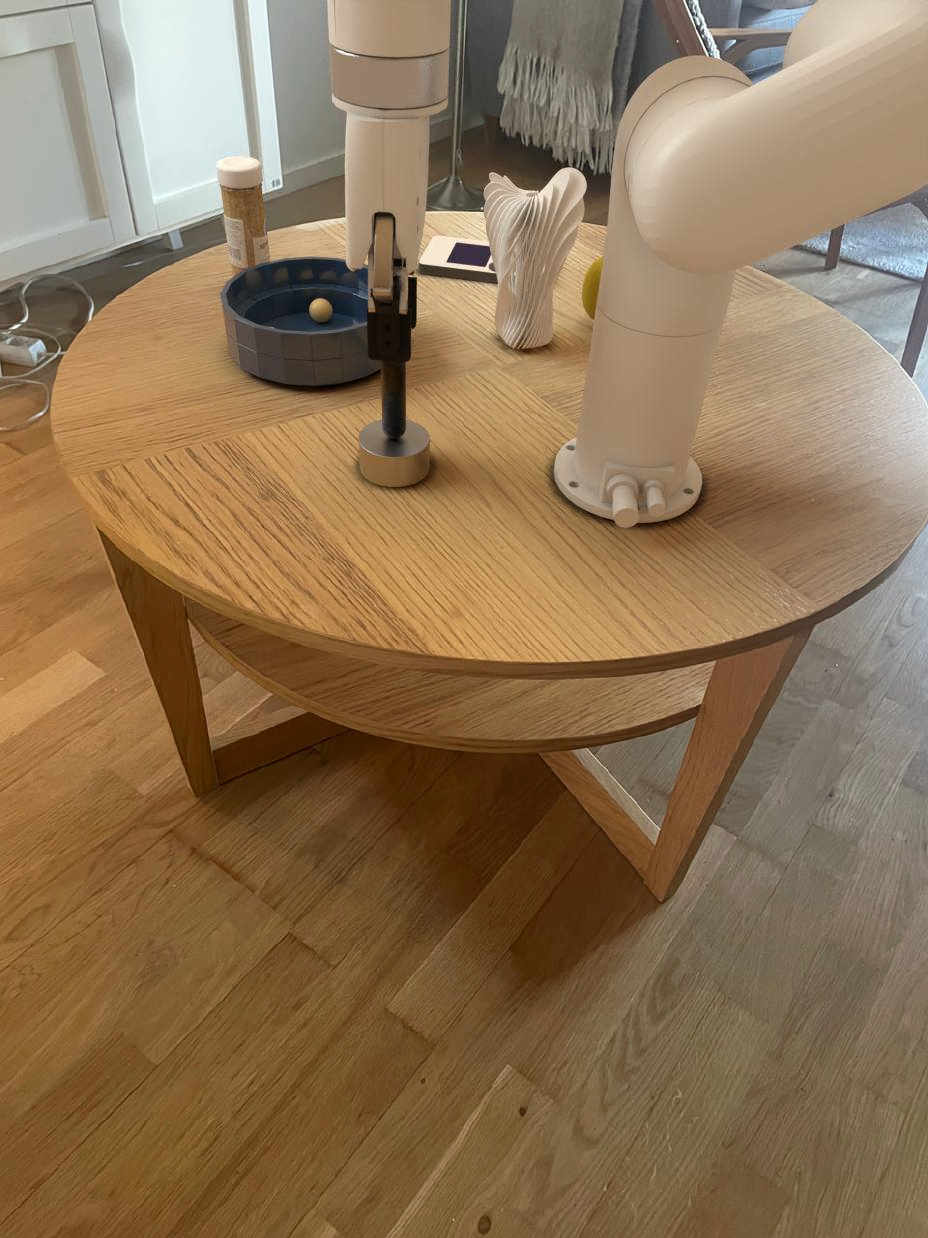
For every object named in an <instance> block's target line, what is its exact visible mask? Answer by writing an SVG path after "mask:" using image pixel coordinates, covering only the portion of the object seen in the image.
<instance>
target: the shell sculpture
mask: <svg viewBox="0 0 928 1238" xmlns="http://www.w3.org/2000/svg"><path fill="white" fill-rule="evenodd" d="M488 178H489V181H490V182H489V183H488V184H487V185H485V187H484V189H483V198H484V201H485V203H484V205H483V216H484V219H485V231H486V232H485V233H486V237H487V241H488V242H489V246H490V252H491V256H492V260H493V263H494V267H495V271H496V275H497V280H498V283H497V292H496V302H495V311H494V326H495V331H496V332H497V334H498V335H499V337H500V338H501V339H502V340H503V342H504V343H505V344H506V345H507V346H508V347H509V348H512V349H513V350H514V349H516V348H517V350H519V349H520V347H521V349H522V350H523V349H526V350H527V349H532V348H533V349H534V348H539V347H543V346H545V345H548V344H549V343H550V342H551V341H552V339H553V336H554V304H553V303H554V302H553V299H554V285H555V283H556V281H557V279H558V278H559V276H560V273H561V272H562V269H563V267H564V265H565V263H566V260H567V258H568V256H569V254H570V252H571V251H572V250H573V247H574V245H575V244H576V241H577V237H578V232H579V225H580V224H581V223H582V221H583V220H584V216H585V201H584V196H585V194H586V192H587V187H588V183H587V180H586V177H585V176H584V174H583V173H582V172H581V171H580V170H578V169H577V168H574V167H564V168H561V169H560V170H558V171H557V172H556V173H555V174H554V175H553V176H552V178H551V179H550V180H549V182H548V183H547V184H546V185H545V186H544V187H543V189H541V190H540V192H539V190H528V189H527V190H526V189H522V188H519V187H517V186H516V185H515V184H514V183H513V181H512V180H511V179H510V178H509V177H508V176H506V175H503V176H501V175H500V174H498V173H496V172H490V173H489V174H488ZM515 255H516V257H515ZM515 264H516V273H515ZM544 266H545V268H544ZM543 269H544V272H543ZM510 274H511V278H510ZM528 283H529V284H528ZM511 284H512V285H511Z"/></svg>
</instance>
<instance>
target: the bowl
mask: <svg viewBox="0 0 928 1238" xmlns="http://www.w3.org/2000/svg"><path fill="white" fill-rule="evenodd" d="M219 298H220V304H221V312H222V317H223V324H224V332H225V338H226V344H227V350H228V356H229V357H230V358H231V359H232V360H233V361H234V362H235V363H236V364H237V365H238V367H239V368H241V369H242V370H244V371H245V372H248V373H250V374H252V375H254V376H256V377H258V378H260V379H263V380H267V381H271V382H272V381H273V382H276V383H280V384H283V385H291V386H299V387H325V386H335V385H339V384H345V383H348V382H352V381H356V380H358V379H362V378H365V377H369V376H370V375H372V374H374V373H376V372H378V371H381V361H380V360H371V359H370V358H369V357H368V338H367V306H368V264H367V263H364V265H363V268H362V269H356V271H355V272H354V271H351V270H350V269H349V268H348V267H347V265H346V258H340V257H328V256H314V255H313V256H311V255H309V256H297V257H286V258H280V259H275V260H270V261H269V262H265V263H260V264H258V265H255V266H253V267H250V268H248V269H245V270H243V271H241V272H239V273H238V274H236V275H235V276H234V277H233V276H232V277H231V278H230V279H228V280H227V281H226V282H225V283H224V286H223V288H222V289H221V291H220V293H219ZM319 298H322V299H325V300H327V301H328V302H329V303H330V304H331V306H332V310H333V313H332V316H331V318H330V319H329V320H328V321H326V322H324V323H319V322H316V321H315V320H314V319H313V318H312V317H311V315H310V312H309V308H310V305H311V303H312V302H313V301H314V300H316V299H319ZM271 327H273V328H271Z"/></svg>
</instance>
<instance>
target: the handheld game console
mask: <svg viewBox="0 0 928 1238" xmlns="http://www.w3.org/2000/svg"><path fill="white" fill-rule="evenodd" d="M515 257H516V255H515ZM544 268H545V266H544ZM543 272H544V269H543ZM418 273H419V274H422V275H429V276H436V277H444V278H451V279H461V280H467V281H476V282H484V283H493V284H498V280H497V275H496V271H495V267H494V263H493V260H492V256H491V252H490V246H489V241H488V240H480V239H471V238H464V237H456V236H447V235H434V236H432V237H431V239H430V241H429V243H428V244H427V246H426V248H425V249H424V251H423V254H422V255H421V256H420V258H419V259H418ZM515 273H516V264H515ZM510 278H511V274H510ZM528 284H529V283H528ZM511 286H512V284H511Z"/></svg>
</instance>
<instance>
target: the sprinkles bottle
mask: <svg viewBox="0 0 928 1238" xmlns="http://www.w3.org/2000/svg"><path fill="white" fill-rule="evenodd" d="M215 168H216V177H217V183H218V184H219V185H218V186H219V188H220V193H221V201H222V209H223V221H224V227H225V228H224V229H225V236H226V242H227V250H228V256H229V262H230V265H231V272H232V277H234V276H235V275H236V274H238V273H239V272H241V271H243V270H245V269H248V268H250V267H253V266H255V265H258V264H260V263H265V262H269V261H271V254H270V245H269V236H268V228H267V218H266V215H265V204H264V196H263V181H264V176H263V168H262V163H261V162H260V160H258V159H257V158H254V157H251V156H250V157H249V156H243V155H237V156H235V155H234V156H228V157H224V158H221V159H220V160H218V161H217V162H216V164H215Z"/></svg>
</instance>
